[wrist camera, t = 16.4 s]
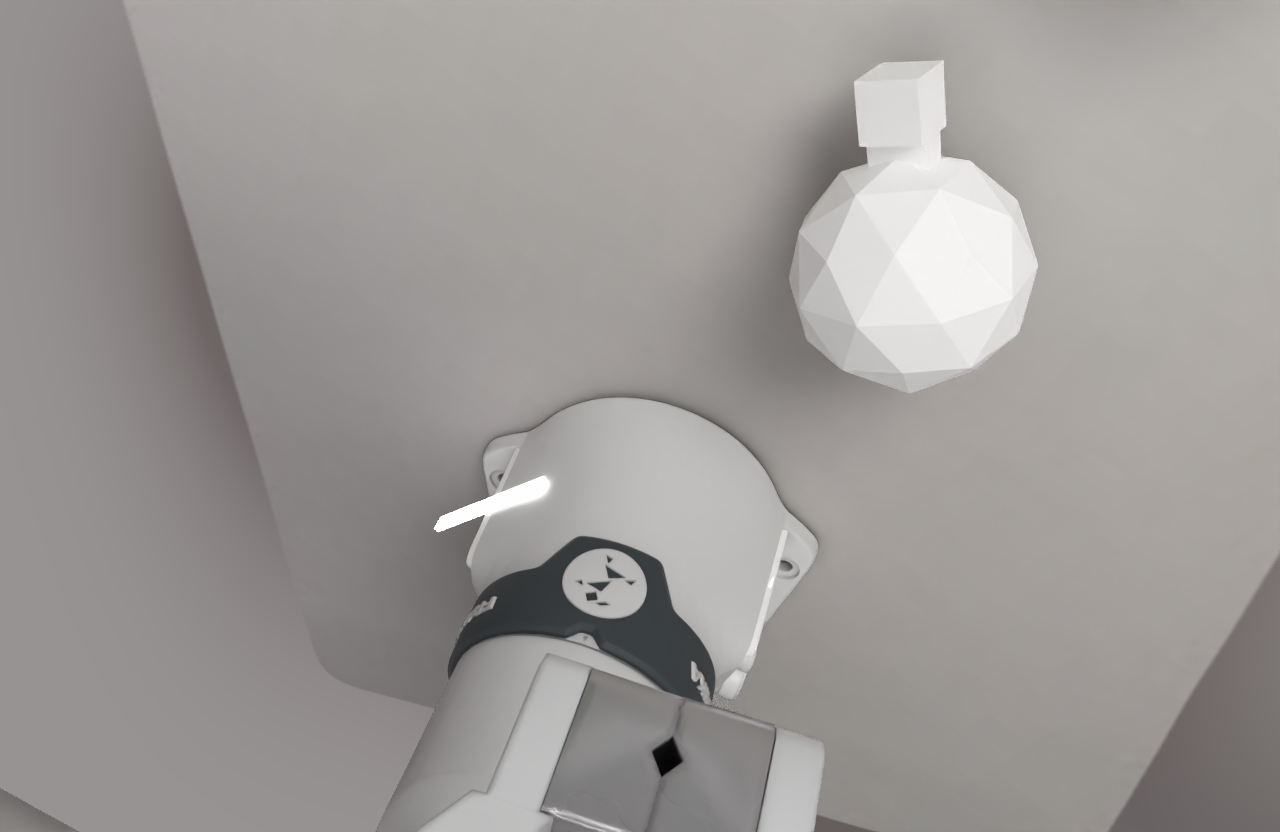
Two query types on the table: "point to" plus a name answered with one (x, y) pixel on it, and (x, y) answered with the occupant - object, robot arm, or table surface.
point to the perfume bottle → (911, 246)
